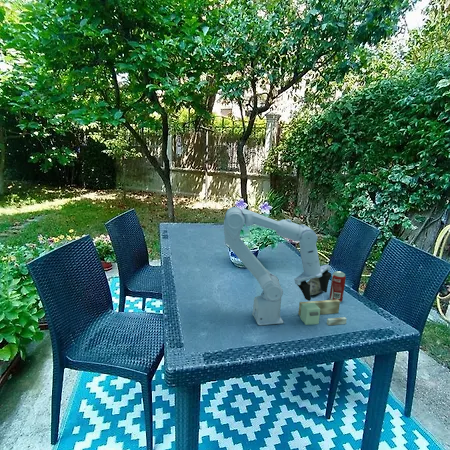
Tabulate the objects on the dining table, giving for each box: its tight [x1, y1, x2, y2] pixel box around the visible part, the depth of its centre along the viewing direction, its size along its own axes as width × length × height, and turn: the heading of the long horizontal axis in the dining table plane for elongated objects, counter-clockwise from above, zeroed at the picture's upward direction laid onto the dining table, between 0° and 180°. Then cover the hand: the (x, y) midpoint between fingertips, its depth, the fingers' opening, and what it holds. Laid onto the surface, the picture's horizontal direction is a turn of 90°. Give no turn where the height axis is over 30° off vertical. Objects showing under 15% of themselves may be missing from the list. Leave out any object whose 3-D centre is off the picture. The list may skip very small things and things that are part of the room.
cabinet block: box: [299, 303, 321, 326], centre depth 105 cm, size 5×5×6 cm
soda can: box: [329, 270, 347, 303], centre depth 122 cm, size 5×5×12 cm
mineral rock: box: [306, 277, 323, 296], centre depth 129 cm, size 13×11×10 cm
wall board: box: [297, 299, 347, 326], centre depth 108 cm, size 16×9×5 cm, turn 101°
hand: (316, 295), depth 105 cm, fingers open, 7 cm apart
